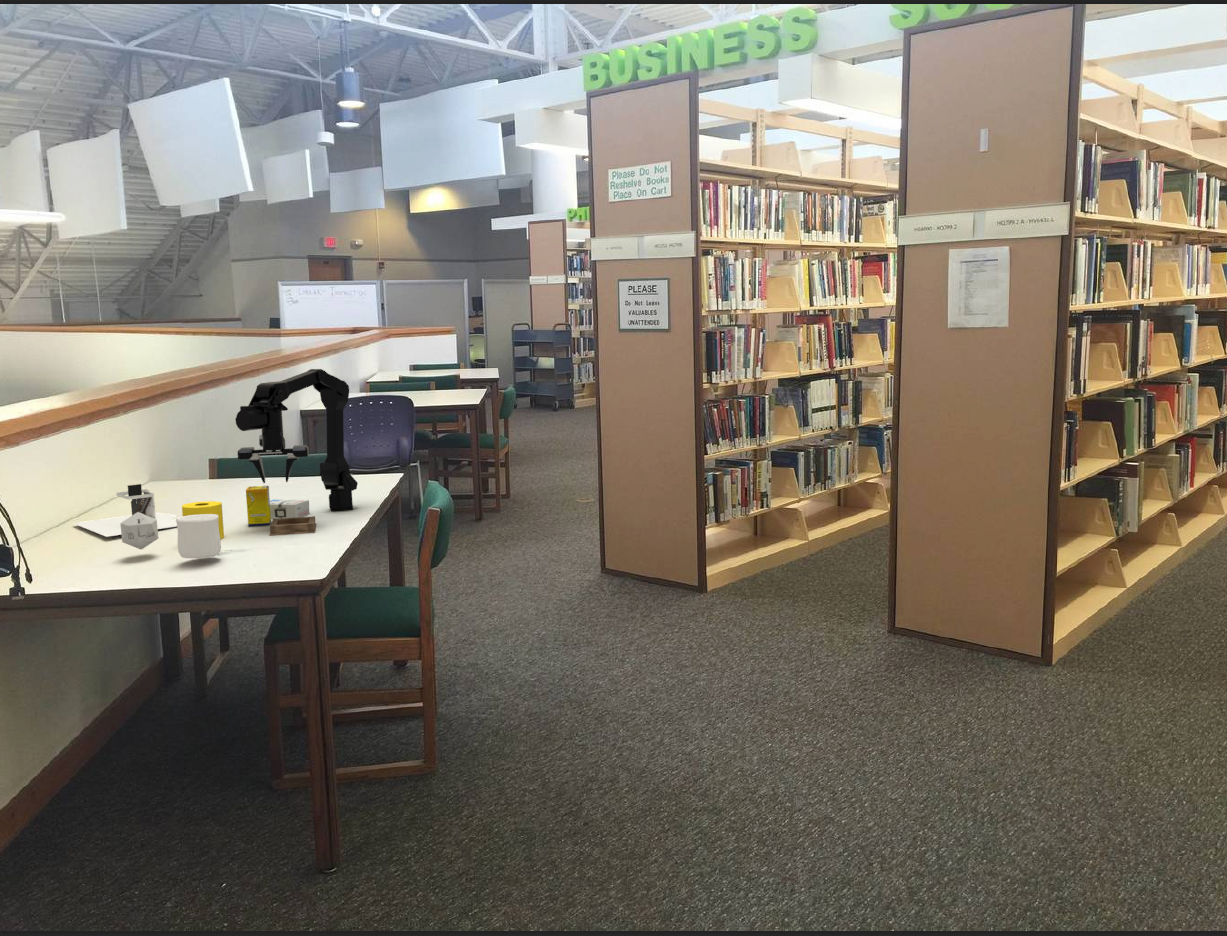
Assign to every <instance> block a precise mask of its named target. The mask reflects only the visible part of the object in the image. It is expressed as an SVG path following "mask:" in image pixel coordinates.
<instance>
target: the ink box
mask: <svg viewBox="0 0 1227 936" xmlns="http://www.w3.org/2000/svg"><path fill="white" fill-rule="evenodd" d="M270 512H271V519H279V518H295V517H306V516H308V515H310V514H311V513H310V501H309V499H272V500H270ZM307 514H308V515H307Z"/></svg>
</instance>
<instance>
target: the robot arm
mask: <svg viewBox="0 0 1227 936" xmlns="http://www.w3.org/2000/svg"><path fill="white" fill-rule="evenodd" d="M309 387H313V389H314V390H316V391H317V392H318V393H319V394H320V400H321V401H320V402H321V403H322V405H323V407H324V409H325V411H326V412H325V413H326V415H325V416H326V417H325V418H326V419H325V421H326V458H325V459H324V462H320V463H319V477H321V478H320V479H321V482H322V483H323V486H324V488H325V490H326V491H328V490H329V491H330V493H329V494H328V507H329V509H330V511H331V512H340V511H343V512H344V511H353V510H354V505H353V491H354V490H357V489H358V481H356V479H355V477H353V475H351V470H350V465H349V464H348V462H347V459H346V458H345V452H344V451H345V447H344V444H345V443H344V442H345V441H344V440H345V438H344V435H345V434H344V409H345V407H346V405H347V404H348V403H349V399H350V398H349V395H350V386H349V384H347V382H346V381H345V380H341V379H340V378H338V377H336V376H335V375H332V374H330V373H329V372H327V371H326V370H324V369H322V368H311V369H309V370H307V371H305V372H302V373H300V374H297V375H294V376H291V377H288V378H285V379H283V380H279V381H269V382H262V383H261V382H260V383H259V384H258V385H256V388H255V392H254V394H253V396H252V398H251V400H250V402H249V403H248V405H241V406H240V407H239V411H238V412H237V414H236V415H235V416H236V417H235V418H234V419H235V424H236V427H237V428H238V429H239V430H240V431H242V432H247V431H249V432H250V431H255V430H256V431H257V430H261V434H259V438H258V443H259V446H260V447H261V448H262V449H255V447H254V446H248V447H246V446H245V447H240V449H238V450H237V460H248V462H249V463H252V464H253V466H254V467H255V469H256V471H257V472H258V474H259V476H260V479H261V481H262V483H263V484H266V476H265V475H266V474H265V469H264V464H263V457H267V456H268V457H269V456H287V457H286V463H285V483H288V481H289V478H290V474H291V470H292V468H293V465H294V462H295V461H298V460H299V458H306V457H309V456H310V449H309V446H308V445H307V444H301V445H300V444H298V445H293V447H292V448H291V447H290V448H286V439H285V437H284V428H283V427H284V426H283V425H284V424H283V422H284V421H283V412H285V411H288V410H289V408H288V407H287V406H286V405H284V403H283V402H285V401H286V400H288V398H289V397H290V396H291V395H292V394H294V393H296V392H299V391H301V390H304V389H307V388H309ZM262 456H263V457H262Z"/></svg>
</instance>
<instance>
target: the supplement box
mask: <svg viewBox="0 0 1227 936" xmlns="http://www.w3.org/2000/svg"><path fill="white" fill-rule="evenodd" d="M270 497H271V496H270V485H257V486H255V485H253V486H247V487H246V489H245V498H246V511H247V523H248V528H252V527H253V528H254V527H268V526H269V527H270V525H271V523H272V520H271V512H270V501H271V500H270V499H271V498H270Z"/></svg>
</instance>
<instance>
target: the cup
mask: <svg viewBox="0 0 1227 936" xmlns="http://www.w3.org/2000/svg"><path fill="white" fill-rule="evenodd" d="M218 517H219V516H218V515H216V514H200V515H189V516H183V515H182V516H177V518H176V519H175V520H176V522H177V526H176V528H177V549H178V554H179V556H180V557H181V558H183V559H205V558H206V559H207V558H210V557H216V556H218V555H219V554H220V553H221V551H222V550H221V549H222V543H221V542H222V540H221V539H220V534H219V526H218Z"/></svg>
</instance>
